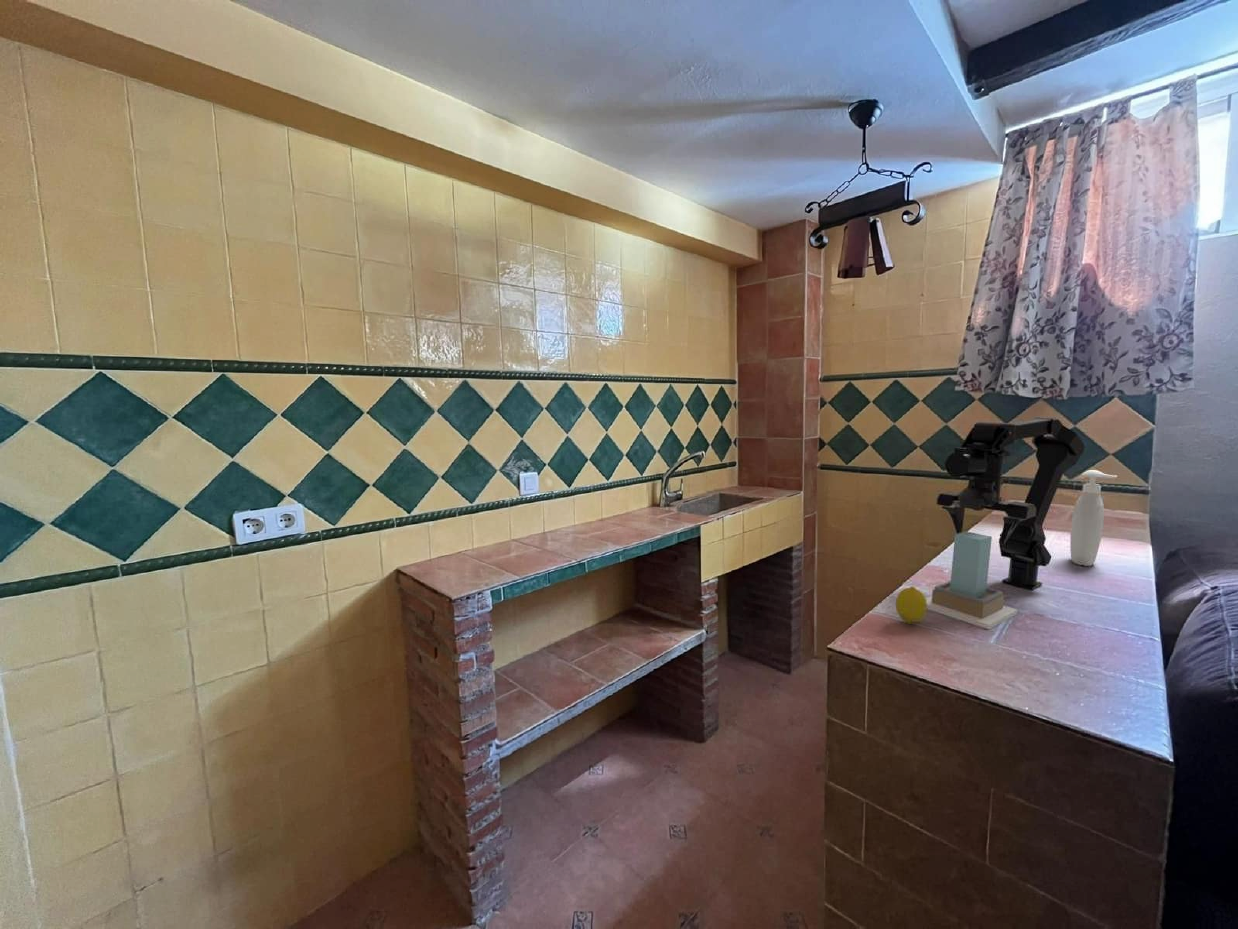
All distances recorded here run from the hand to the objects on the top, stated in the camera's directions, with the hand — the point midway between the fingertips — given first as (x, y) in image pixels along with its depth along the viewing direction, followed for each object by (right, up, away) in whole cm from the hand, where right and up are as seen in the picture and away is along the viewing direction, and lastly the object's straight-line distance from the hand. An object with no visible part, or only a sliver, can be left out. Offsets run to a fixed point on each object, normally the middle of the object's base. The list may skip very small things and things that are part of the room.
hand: (980, 539), depth 121 cm
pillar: (-10, -10, -10) cm, 17 cm away
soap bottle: (+48, -11, +24) cm, 54 cm away
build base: (-10, -14, -9) cm, 19 cm away
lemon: (-26, -15, -16) cm, 35 cm away
